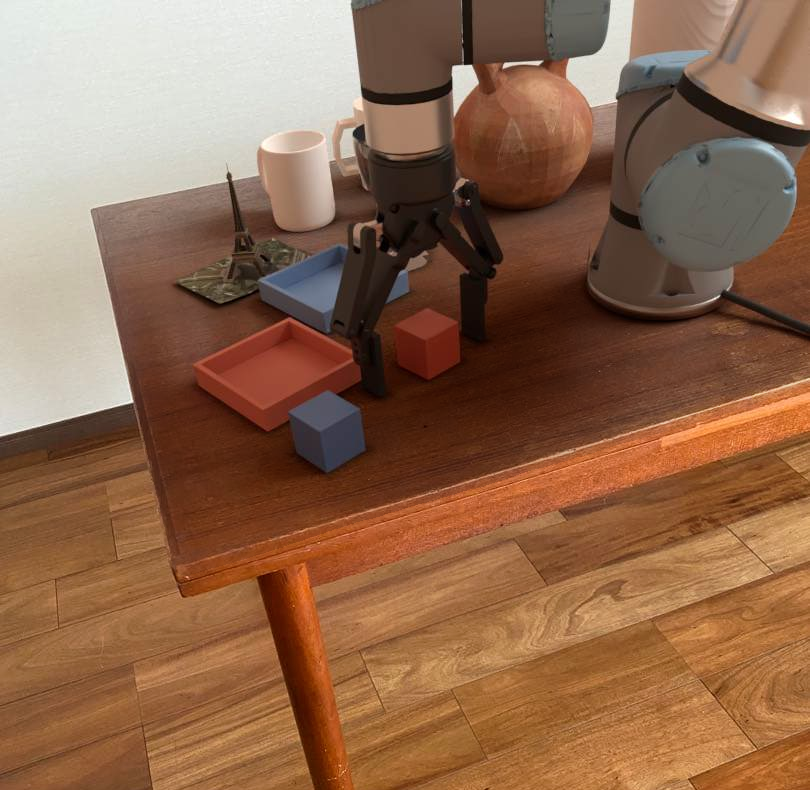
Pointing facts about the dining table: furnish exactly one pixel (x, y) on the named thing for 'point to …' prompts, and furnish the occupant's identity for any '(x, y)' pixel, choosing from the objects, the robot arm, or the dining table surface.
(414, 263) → the wine glass
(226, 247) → the dining table surface
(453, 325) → the red block
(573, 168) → the jug
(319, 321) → the blue tray
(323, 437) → the blue block
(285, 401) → the red tray
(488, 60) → the robot arm
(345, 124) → the mug
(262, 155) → the cup
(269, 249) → the eiffel tower figurine
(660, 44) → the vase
